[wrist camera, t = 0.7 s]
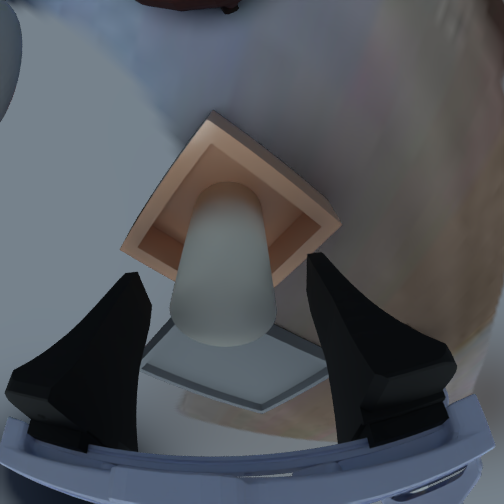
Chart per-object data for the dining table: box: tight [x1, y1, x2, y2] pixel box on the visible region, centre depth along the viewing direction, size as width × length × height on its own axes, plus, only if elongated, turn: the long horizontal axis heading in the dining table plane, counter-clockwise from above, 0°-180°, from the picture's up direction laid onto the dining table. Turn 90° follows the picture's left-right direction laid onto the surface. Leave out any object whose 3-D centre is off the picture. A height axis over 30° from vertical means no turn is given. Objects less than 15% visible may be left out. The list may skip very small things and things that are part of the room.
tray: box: [139, 318, 329, 414], centre depth 26 cm, size 16×12×2 cm
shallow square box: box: [120, 110, 342, 287], centre depth 17 cm, size 9×9×3 cm
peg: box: [170, 181, 277, 347], centre depth 14 cm, size 4×4×8 cm
